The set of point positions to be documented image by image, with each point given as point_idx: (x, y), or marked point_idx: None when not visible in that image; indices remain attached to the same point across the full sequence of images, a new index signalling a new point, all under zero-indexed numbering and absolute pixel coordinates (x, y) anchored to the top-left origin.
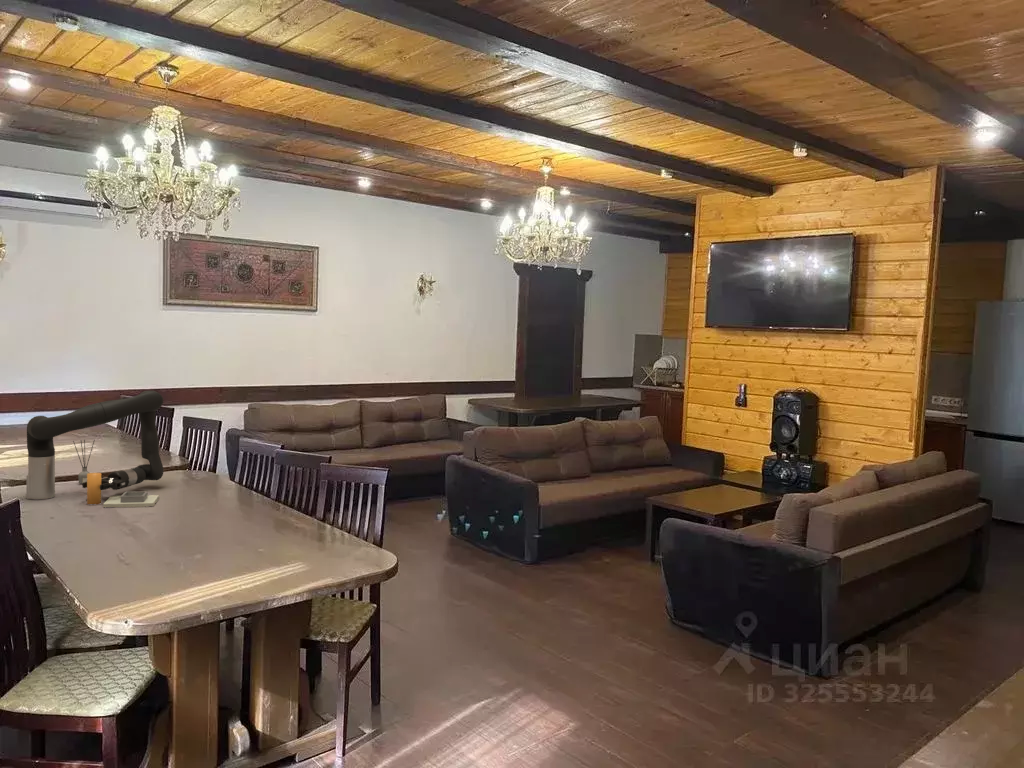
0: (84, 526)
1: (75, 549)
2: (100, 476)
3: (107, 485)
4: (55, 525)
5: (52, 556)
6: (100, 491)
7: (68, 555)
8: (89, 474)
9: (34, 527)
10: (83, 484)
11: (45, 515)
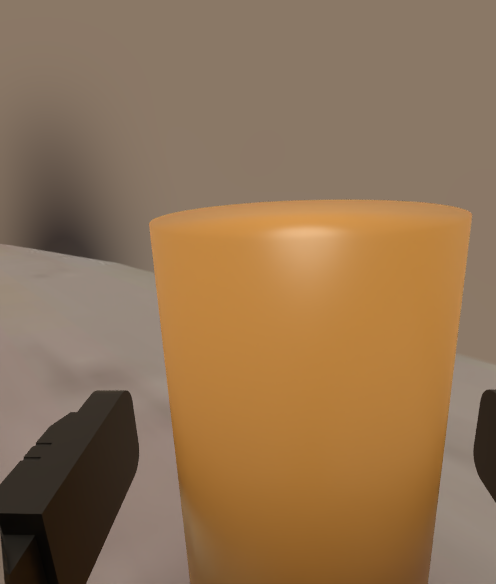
0: (47, 318)
1: (10, 267)
2: (157, 283)
3: (13, 481)
4: (157, 305)
5: (44, 255)
6: (188, 566)
7: (15, 259)
8: (325, 202)
9: None
10: (484, 406)
11: None
